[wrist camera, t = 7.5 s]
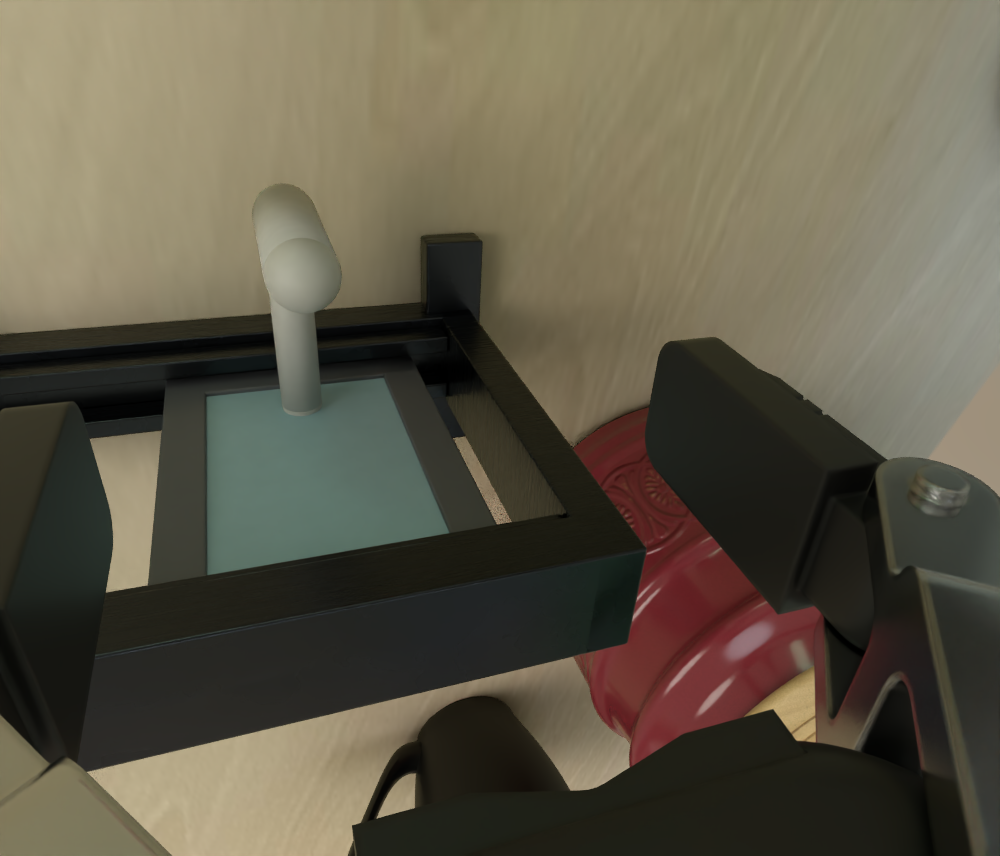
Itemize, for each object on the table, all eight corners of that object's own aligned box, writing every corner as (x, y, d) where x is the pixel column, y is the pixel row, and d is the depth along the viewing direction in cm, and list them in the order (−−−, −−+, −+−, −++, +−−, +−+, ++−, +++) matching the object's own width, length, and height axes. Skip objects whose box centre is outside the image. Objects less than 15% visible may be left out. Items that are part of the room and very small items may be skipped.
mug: (336, 688, 36) (371, 883, 29) (552, 674, 41) (630, 837, 34) (309, 795, 40) (334, 993, 32) (510, 770, 45) (572, 936, 37)
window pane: (408, 153, 23) (536, 279, 14) (411, 370, 26) (512, 574, 18) (119, 158, 20) (55, 314, 11) (168, 395, 24) (149, 646, 15)
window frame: (475, 232, 26) (686, 449, 15) (468, 423, 31) (628, 708, 19) (-164, 263, 21) (-625, 652, 9) (-65, 491, 25) (-297, 955, 13)
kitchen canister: (565, 645, 40) (760, 1017, 26) (475, 486, 32) (683, 894, 18) (771, 529, 41) (1070, 832, 27) (731, 346, 33) (1122, 638, 19)
